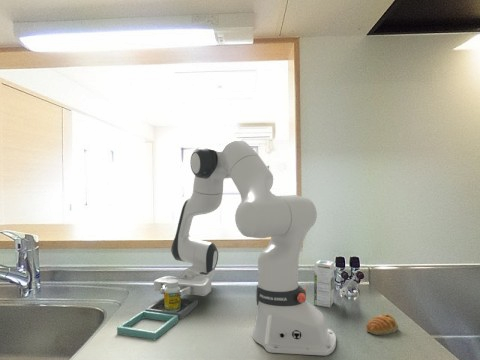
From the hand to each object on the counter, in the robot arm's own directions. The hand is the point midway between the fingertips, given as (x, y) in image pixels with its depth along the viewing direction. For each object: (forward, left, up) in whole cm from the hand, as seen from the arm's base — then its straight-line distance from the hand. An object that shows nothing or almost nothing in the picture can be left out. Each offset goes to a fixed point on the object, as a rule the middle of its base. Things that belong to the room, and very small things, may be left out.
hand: (170, 292), depth 115 cm
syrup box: (-48, -21, -6) cm, 53 cm away
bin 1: (0, +13, -6) cm, 14 cm away
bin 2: (0, -1, -6) cm, 6 cm away
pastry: (-66, -6, -7) cm, 66 cm away
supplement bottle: (0, -1, -6) cm, 6 cm away
